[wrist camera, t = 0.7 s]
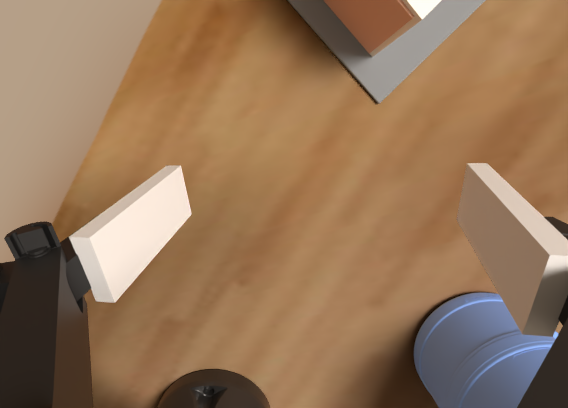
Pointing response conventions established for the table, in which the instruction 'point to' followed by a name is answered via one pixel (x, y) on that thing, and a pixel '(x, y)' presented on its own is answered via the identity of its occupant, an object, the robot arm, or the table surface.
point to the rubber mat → (396, 56)
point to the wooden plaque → (380, 19)
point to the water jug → (477, 354)
